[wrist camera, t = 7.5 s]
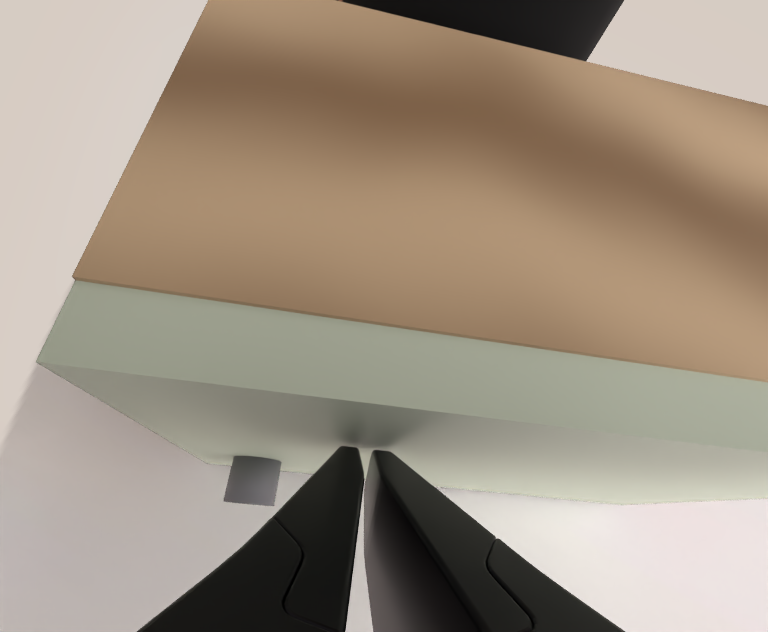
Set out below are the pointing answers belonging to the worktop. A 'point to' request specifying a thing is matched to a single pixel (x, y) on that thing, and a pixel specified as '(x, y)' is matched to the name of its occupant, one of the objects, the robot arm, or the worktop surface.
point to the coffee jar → (514, 20)
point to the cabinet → (447, 190)
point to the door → (407, 402)
